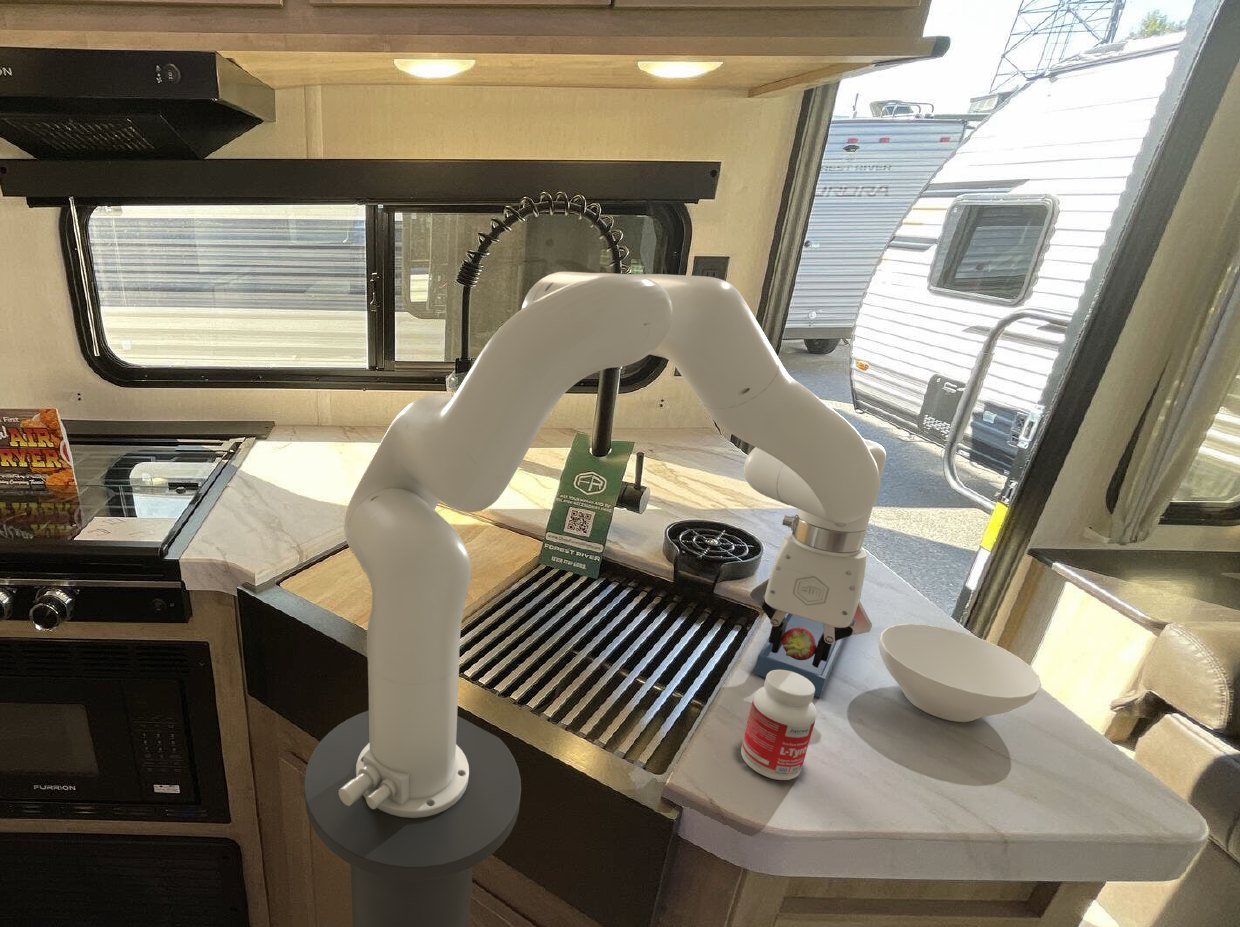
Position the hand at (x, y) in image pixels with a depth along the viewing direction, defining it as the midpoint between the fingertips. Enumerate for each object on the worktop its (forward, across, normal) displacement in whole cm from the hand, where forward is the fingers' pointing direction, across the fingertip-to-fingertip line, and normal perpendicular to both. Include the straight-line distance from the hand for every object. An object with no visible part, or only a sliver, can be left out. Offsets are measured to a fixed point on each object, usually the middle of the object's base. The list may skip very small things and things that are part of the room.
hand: (796, 654), depth 90 cm
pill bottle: (+3, +2, -21) cm, 21 cm away
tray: (+3, 0, +9) cm, 10 cm away
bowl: (+3, +16, +5) cm, 17 cm away
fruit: (+1, 0, 0) cm, 1 cm away
